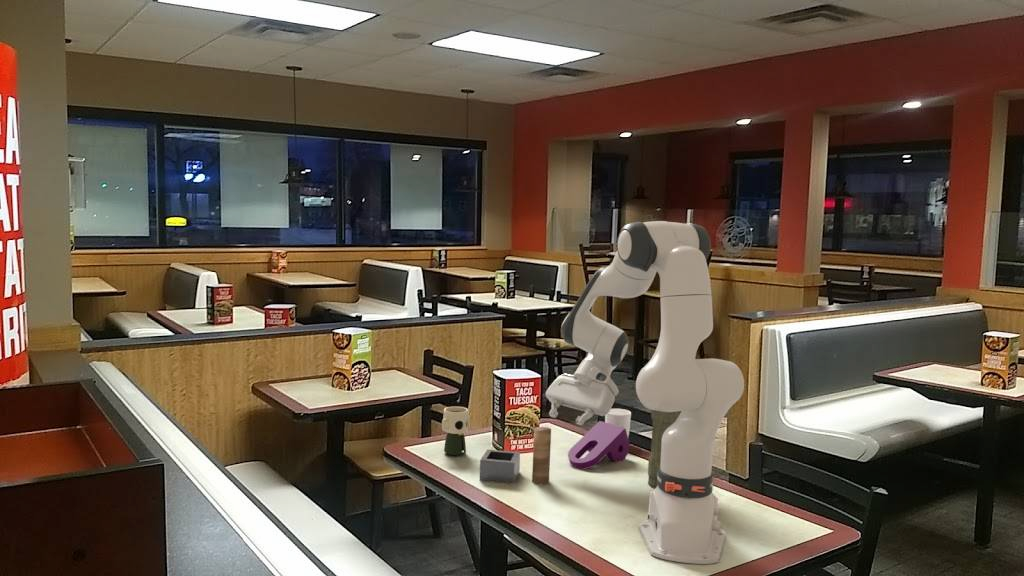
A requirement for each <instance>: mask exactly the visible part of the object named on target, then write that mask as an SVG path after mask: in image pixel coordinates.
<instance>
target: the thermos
mask: <svg viewBox="0 0 1024 576" xmlns="http://www.w3.org/2000/svg"><path fill="white" fill-rule="evenodd" d="M680 413H681V411H678V412H661V411H655V410H651V414H650V416H651V417H650V418H651V420H652V430H651V447H650V450H651V451H650V455H649V458H648V464H647V465H648V466H647V467H648V468H647V474H648V475H647V476H648V481H647V484H648V486H649V487H650V488H651V489H653V490H654V489H655V488H656V487H657V486H658V485H657V473H658V468H659V467H660V461H661V443H662V436H663V433H664V432H665V430H666V429H667V428H668V427H669V426H671V425H672V424H673V423H674V422H675V421H676V420H677V418H678V417H679V415H680Z"/></svg>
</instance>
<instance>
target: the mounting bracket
mask: <svg viewBox="0 0 1024 576" xmlns="http://www.w3.org/2000/svg"><path fill="white" fill-rule="evenodd" d="M629 451H630V441H629V436H627V433H626V429H625V428H623V427H620V426H616V425H613V424H609V423H606V422H605V421H601V420H599V421H598V422H597V423H596V424H595V425H594V426H592V428H590V429H589V430H588V431H587V432H586V433H585V434H584V435H583V436H582V437H581V438H580V439H579V440H578V441H577V442H576V443H575V444H574V445H573V446H572V447H571V448H570V449H569V450H568V452H567V458H568V461H569V463H570V465H571V466H572V465H573V466H572V467H574V466H575V467H574V468H578V469H581V470H582V469H583V470H584V469H585V470H586V469H589V468H591V467H593V466H595V465H597V464H598V463H599V462H600V461H602V459H603V458H605V457H606V458H607V459H608V460H609V461H613V462H616V463H619V461H620V462H622V461H624V460H625V459H626V458H627V456H628V454H629ZM587 452H588V453H587ZM585 454H586V455H585ZM583 455H585V456H584V457H582V456H583Z"/></svg>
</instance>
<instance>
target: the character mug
mask: <svg viewBox="0 0 1024 576" xmlns="http://www.w3.org/2000/svg"><path fill="white" fill-rule="evenodd" d="M442 417H443V419H442V421H441V429H442V431H443V432H445V433H446V437H445V441H444V449H443V452H444V453H446V454H449V455H450V456H461V455H463V454H466V453H467V448H466V446H467V444H466V439H465V438H466V437H465V434H466V433H467V432H468V430H469V423H470V413H469V409H468V408H467V407H464V406H448V407H444V409H443V416H442ZM464 433H465V434H464Z"/></svg>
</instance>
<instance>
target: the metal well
mask: <svg viewBox="0 0 1024 576" xmlns="http://www.w3.org/2000/svg"><path fill="white" fill-rule="evenodd" d="M479 463H480V464H479V481H480V480H485V481H484V482H490V481H494V483H501V482H503V483H504V484H511V483H513V485H514V484H515V482H516V481H517V478H518V476H519V474H520V467H521V466H520V465H521V452H520V451H506V450H496V449H486V450H485V453H484V454H483V455H482V457H481V458H480V460H479ZM503 483H502V484H503Z"/></svg>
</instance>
